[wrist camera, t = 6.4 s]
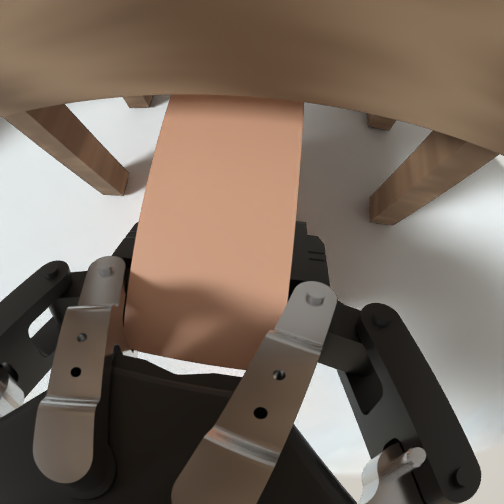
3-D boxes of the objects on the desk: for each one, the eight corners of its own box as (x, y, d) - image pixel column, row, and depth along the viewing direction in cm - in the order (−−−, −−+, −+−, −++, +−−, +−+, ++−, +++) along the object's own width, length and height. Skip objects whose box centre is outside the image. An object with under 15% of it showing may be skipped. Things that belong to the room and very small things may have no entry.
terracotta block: (186, 327, 16) (121, 347, 8) (209, 168, 17) (176, 80, 9) (270, 338, 16) (278, 373, 8) (287, 176, 17) (304, 87, 9)
